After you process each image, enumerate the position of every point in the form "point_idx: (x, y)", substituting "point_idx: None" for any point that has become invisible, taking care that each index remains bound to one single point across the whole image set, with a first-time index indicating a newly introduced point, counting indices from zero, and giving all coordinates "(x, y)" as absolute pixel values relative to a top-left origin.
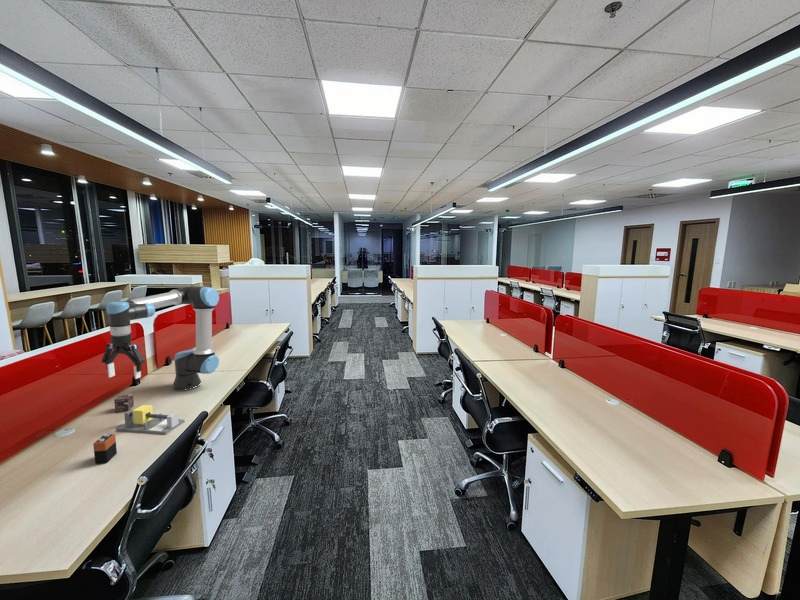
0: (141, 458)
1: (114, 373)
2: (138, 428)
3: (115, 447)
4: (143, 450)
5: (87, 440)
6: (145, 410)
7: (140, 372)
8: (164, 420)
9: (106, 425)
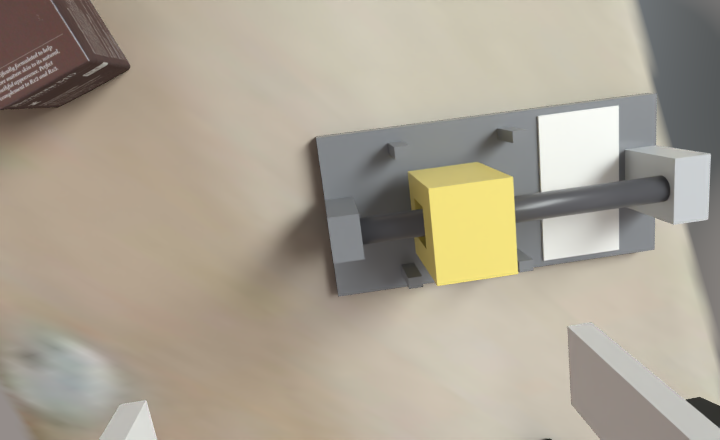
0: None
1: (136, 429)
2: None
3: None
4: None
5: (287, 401)
6: (513, 243)
7: (635, 361)
8: (542, 141)
9: (206, 260)
